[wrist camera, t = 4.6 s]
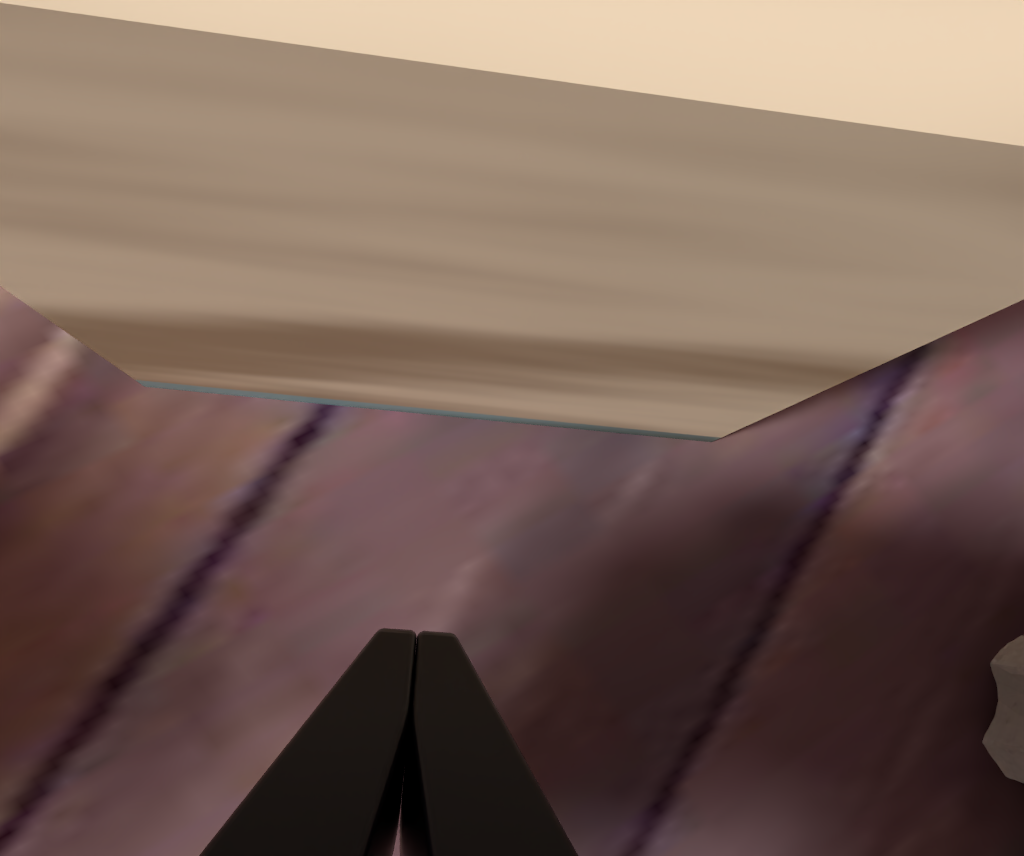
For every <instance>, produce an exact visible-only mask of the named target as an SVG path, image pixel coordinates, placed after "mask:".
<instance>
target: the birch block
mask: <svg viewBox="0 0 1024 856" xmlns="http://www.w3.org/2000/svg"><path fill="white" fill-rule="evenodd" d="M0 286H1V287H2V288H4V289H5V290H7V291H8V292H10V293H11V294H12V295H14V296H15V297H17V298H18V299H20V300H21V301H22V302H24V303H25V304H27V305H28V306H30V307H31V308H33V309H34V310H35V311H37V312H38V313H40V314H41V315H43V316H44V317H45V318H47V319H48V320H50V321H51V322H53V323H54V324H55V325H57V326H58V327H60V328H61V329H63V330H64V331H66V332H67V333H68V334H70V335H71V336H73V337H74V338H76V339H77V340H78V341H80V342H81V343H83V344H84V345H86V346H87V347H89V348H90V349H91V350H93V351H94V352H96V353H97V354H99V355H100V356H101V357H103V358H104V359H106V360H107V361H109V362H110V363H112V364H113V365H114V366H116V367H117V368H119V369H120V370H122V371H123V372H124V373H126V374H127V375H129V376H130V377H132V378H133V379H134V380H136V381H137V382H139V383H140V384H142V385H143V386H145V387H154V388H165V389H175V390H185V391H195V392H205V393H216V394H226V395H236V396H246V397H257V398H267V399H277V400H287V401H297V402H308V403H318V404H328V405H338V406H349V407H359V408H369V409H379V410H390V411H400V412H410V413H420V414H430V415H441V416H451V417H461V418H471V419H482V420H492V421H502V422H512V423H523V424H533V425H543V426H553V427H563V428H574V429H584V430H594V431H604V432H615V433H625V434H635V435H645V436H655V437H666V438H676V439H686V440H696V441H707V442H713V441H715V440H717V439H719V438H722V437H724V436H726V435H728V434H730V433H733V432H735V431H737V430H739V429H741V428H743V427H746V426H748V425H750V424H752V423H754V422H757V421H759V420H761V419H763V418H765V417H768V416H770V415H772V414H774V413H776V412H778V411H781V410H783V409H785V408H787V407H789V406H792V405H794V404H796V403H798V402H800V401H803V400H805V399H807V398H809V397H811V396H813V395H816V394H818V393H820V392H822V391H824V390H827V389H829V388H831V387H833V386H835V385H838V384H840V383H842V382H844V381H846V380H848V379H851V378H853V377H855V376H857V375H859V374H862V373H864V372H866V371H868V370H870V369H873V368H875V367H877V366H879V365H881V364H883V363H886V362H888V361H890V360H892V359H894V358H897V357H899V356H901V355H903V354H905V353H908V352H910V351H912V350H914V349H916V348H918V347H921V346H923V345H925V344H927V343H929V342H932V341H934V340H936V339H938V338H940V337H943V336H945V335H947V334H949V333H951V332H953V331H956V330H958V329H960V328H962V327H964V326H967V325H969V324H971V323H973V322H975V321H978V320H980V319H982V318H984V317H986V316H988V315H991V314H993V313H995V312H997V311H999V310H1002V309H1004V308H1006V307H1008V306H1010V305H1013V304H1015V303H1017V302H1019V301H1021V300H1023V299H1024V0H0Z"/></svg>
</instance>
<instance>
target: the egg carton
mask: <svg viewBox="0 0 1024 856" xmlns="http://www.w3.org/2000/svg"><path fill="white" fill-rule="evenodd" d="M990 666H991V669H992V672H993V675H994V678H995V681H996V684H997V692H998V704H997V708H996V713H995V716H994V719H993V721H992V722H991V724H990V726H989V728H988V730H987V732H986V733H985V736H984V738H983V741H982V743H983V744H984V746H985V747H986V749H987V751H988V752H989V754H990V755H991V757H992V758H993V759H994V761H995V762H996V763H997V764H998V766H999V768H1000V769H1001V771H1002V772H1003V773H1004V775H1005V776H1006V777H1008V778H1010V779H1013V780H1017V781H1019V782H1021V783H1024V635H1021V636H1019V637H1018V638H1016V639H1015V640H1013V641H1011V642H1009V643H1007V644H1006V646H1005V647H1003V648H1002V649H1001V650H1000V651H999V652H998V653H997V655H996V656H995V657H994V658H993V660H992V661H991V663H990Z"/></svg>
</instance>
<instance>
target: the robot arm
mask: <svg viewBox="0 0 1024 856" xmlns="http://www.w3.org/2000/svg"><path fill="white" fill-rule="evenodd" d="M416 639H417V643H416ZM415 650H416V653H415ZM414 662H415V663H414ZM404 767H405V769H404ZM403 777H404V780H403ZM402 787H403V791H402ZM401 797H402V801H401ZM400 807H401V816H400V856H578V855H577V853H576V851H575V849H574V847H573V846H572V844H571V842H570V840H569V838H568V837H567V835H566V833H565V831H564V829H563V827H562V826H561V824H560V822H559V820H558V818H557V817H556V815H555V813H554V811H553V809H552V808H551V806H550V804H549V802H548V800H547V799H546V797H545V795H544V793H543V791H542V790H541V788H540V786H539V784H538V782H537V781H536V779H535V777H534V775H533V773H532V772H531V770H530V768H529V766H528V764H527V762H526V761H525V759H524V757H523V755H522V753H521V752H520V750H519V748H518V746H517V744H516V743H515V741H514V739H513V737H512V735H511V734H510V732H509V730H508V728H507V726H506V725H505V723H504V721H503V719H502V717H501V716H500V714H499V712H498V710H497V708H496V707H495V705H494V703H493V701H492V699H491V698H490V696H489V694H488V692H487V690H486V688H485V687H484V685H483V683H482V681H481V679H480V678H479V676H478V674H477V672H476V670H475V669H474V667H473V665H472V663H471V661H470V660H469V658H468V656H467V654H466V652H465V651H464V649H463V647H462V645H461V643H460V642H459V640H458V638H457V637H456V636H455V635H454V634H452V633H443V632H430V631H422V632H420V633H419V634H418V636H417V637H416V634H415V632H414V631H412V630H402V629H386V628H383V629H380V630H378V631H377V632H376V633H375V634H374V636H373V637H372V638H371V640H370V641H369V642H368V643H367V645H366V646H365V647H364V648H363V650H362V651H361V652H360V653H359V655H358V656H357V657H356V658H355V660H354V661H353V662H352V664H351V665H350V666H349V667H348V669H347V670H346V671H345V672H344V674H343V675H342V676H341V677H340V679H339V680H338V681H337V682H336V684H335V685H334V686H333V688H332V689H331V690H330V691H329V693H328V694H327V695H326V696H325V698H324V699H323V700H322V701H321V703H320V704H319V705H318V706H317V708H316V709H315V710H314V712H313V713H312V714H311V715H310V717H309V718H308V719H307V720H306V722H305V723H304V724H303V725H302V727H301V728H300V729H299V730H298V732H297V733H296V734H295V735H294V737H293V738H292V739H291V741H290V742H289V743H288V744H287V746H286V747H285V748H284V749H283V751H282V752H281V753H280V754H279V756H278V757H277V758H276V759H275V761H274V762H273V763H272V765H271V766H270V767H269V768H268V770H267V771H266V772H265V773H264V775H263V776H262V777H261V778H260V780H259V781H258V782H257V783H256V785H255V786H254V787H253V789H252V790H251V791H250V792H249V794H248V795H247V796H246V797H245V799H244V800H243V801H242V802H241V804H240V805H239V806H238V807H237V809H236V810H235V811H234V812H233V814H232V815H231V816H230V818H229V819H228V820H227V821H226V823H225V824H224V825H223V826H222V828H221V829H220V830H219V831H218V833H217V834H216V835H215V836H214V838H213V839H212V840H211V842H210V843H209V844H208V845H207V847H206V848H205V849H204V850H203V852H202V853H201V854H200V855H199V856H392V855H393V851H394V845H395V840H396V835H397V830H398V823H399V815H400Z"/></svg>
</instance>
